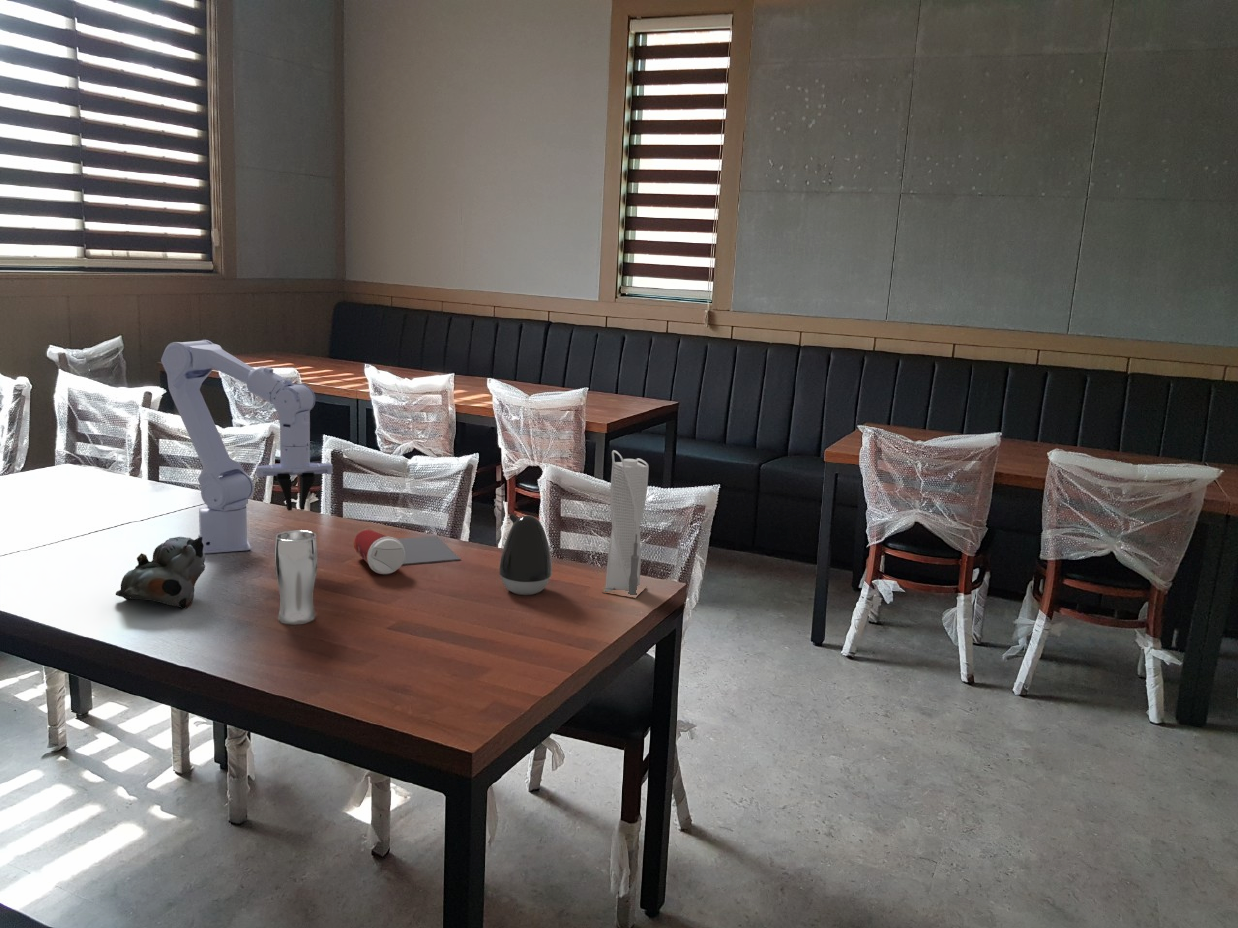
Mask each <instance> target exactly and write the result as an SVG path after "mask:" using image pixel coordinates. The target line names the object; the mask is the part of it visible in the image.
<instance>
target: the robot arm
mask: <svg viewBox="0 0 1238 928" xmlns="http://www.w3.org/2000/svg"><path fill="white" fill-rule="evenodd" d="M160 362H161V364H162V367H163V369H164V371H165V373H166V376H167V386H168V390H169V393H170V396H171V398H172V400H173V403H174V405H175V407H176V409H177V412H178V413H179V416H180V419H181V420H182V423H183V425H184V427H185V429H186V432H187V434H188V436H189V439H190V440H191V443H192V445H193V447H194V450H195V452H196V454H197V457H198V459H199V461H200V463H201V465H202V467H203V468H202V469H201V471H200V473H199V475H198V477H197V480H198V483H199V486H200V497H201V499H202V501H203V503H204V504H205V505H206V506H207V507H200V508H199V509H198V520H199V521H198V522H199V524H198V527H199V534H198V537H197V538H199V537H202V543H203V545H204V547H203V552H204V554H215V553H228V552H229V553H230V552H243V551H251V550H252V547H251V545H250V542H249V539H248V521H247V520H248V515H247V514H248V513H247V512H248V511H247V509H248V508H247V505H248V504H249V499H250V498H251V497H252V496H253V494H254V491H255V486H254V480H253V479H252V478H251V476H250V475H249V474H248V473H247V472H246V471H245V470H244V467H243V466H242V464H241V463H239V462H238V461H235V460H234V459H232V458H231V457H230V454H229V453H228V451H227V449H226V446H225V445H224V441H223V439H222V437H221V435H220V432H219V430H218V428H217V425H216V424H215V422H214V419H213V417H212V414H211V412H210V410H209V408H208V405H207V404H206V402H205V399H204V396H203V394H202V392H201V387H202V384H203V383H204V381H205V380H206V379H207V378H208V376H209V375H210V374H211V372H213V370H216V371H218V372H221V373H223V374H225V375H227V376H229V377H231V378H233V379H236V380H237V381H240V382H242V383H244V384H246V388H247V391H248V392H249V393H251V394H253V395H254V396H256V397H258V398H260V399H262V400H264V401H266V402H267V403H270V404H271V405H273V408H274V409H275V411H276V412H277V415H278V421H279V440H280V442H279V445H280V449H279V450H280V451H279V452H280V453H279V454H280V456H279V458H280V461H279V462H280V463H275V464H267V465H266V464H265V465H256V476H257V478H264V477H274V476H275V478H276V480H277V482H278V483H279V485H280V488H281V491H282V492H283V496H284V499H285V504H286V509H287V511H288V512H289V511H292V510H293V501H292V485H293V484H292V482H293V481H292V479H291V476H298V479H299V480H298V481H299V482H298V483H299V500H298V501H299V502H298V503H299V504H298V507H299V510H301V511H304V510H305V508H306V503H307V499H308V496H309V493H310V490H311V488H312V486H313V485H314V483H315V480H316V477H315V475H323V474H324V475H325V474H326V475H333V474H334V473H333V470H334V469H333V464H332V463H331V462H329V463H326V462H325V463H323V462H311V441H310V440H311V430H310V429H311V419H310V418H311V417H310V416H311V413H310V412H311V410H313V408H314V406H315V405H316V395H315V392H314V389H312V388H311V387H310V386H308V385H307V384H306V383H296V384H295V383H294V382H293V379H291V378H289V377H288V378H285V377H284V376H283V377H282V376H280V375H279V374H277V373H275V372H274V369H273V368H272V367H269V366H267V367H257V368H253V367H252V366H251V365H249V364H247V363H245V362H244V361H242V360H240V359H239V358H237V357H235V356H234V355H233V354H231V353H229V352H227V351H226V350H224V349H223V347H222V346H221V345H219V344H216V343H213V342H212V341H210V340H208V339H201V340H195V341H183V342H181V341H173V342H170V343H169V344H168V345H167V346H166V347H165V349H164V352H163V354H162V356H161V359H160Z"/></svg>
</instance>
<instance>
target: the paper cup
mask: <svg viewBox="0 0 1238 928" xmlns="http://www.w3.org/2000/svg"><path fill="white" fill-rule="evenodd" d="M398 539H399V538H396V537H392V536H387V535H385V534H382V533H380V532H377V531H375V530H371V529H366V530H365V529H364V530H362V531H360V532H358V533H357V534H356V535H355V537H354V540H353V548H354V550H355V552H356V553H357V555H359V556H360V557H361V559H363V560H364V561H365V563H367V564H368V566H369V568H370V569H371V570H372V571H373V572H375V573H376V574H379V575H390V574H392V573H395V572H396V571H397V570H398V569H400V568H401V567H402V566H403V565H402V564H403V562H404V560H405V550H404V547H403V545H402V543H401V542H400V541H399V540H398Z"/></svg>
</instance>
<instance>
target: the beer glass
mask: <svg viewBox="0 0 1238 928" xmlns="http://www.w3.org/2000/svg"><path fill="white" fill-rule="evenodd" d="M274 569H275V575H276V581H277V586H278V591H279V595H280V597H279V598H280V600H279V602H280V603H279V605H280V606H279V611H278V617H277V618H278V619H277V620H278V621H279V623H281V624H284V625H290V626H291V625H292V626H297V625H304V624H308V623H311V622H313V621H314V620H315V619H316V613H315V607H314V598H313V597H314V588H315V583H316V577H317V571H318V543H317V534H316V533H315V532H312V531H310V530H302V529H301V530H300V529H297V530H296V529H295V530H285V531H281V532H279V533H277V534H276V535H275V544H274Z"/></svg>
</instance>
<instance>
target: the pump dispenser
mask: <svg viewBox="0 0 1238 928" xmlns="http://www.w3.org/2000/svg"><path fill="white" fill-rule="evenodd" d="M508 516H509V520H510V521H511V522H512V523H513V524H512V525H511V527H510V530H509V531H508V533H507V536H506V539H505V542H504V545H503V548H502V551H501V557H500V563H499V571H498V573H499V575H500V576H501V577H500V578H501V581H502V584H503V585H504V587H505V588H506V589H507V590H508V591H509V592H512V593H513V594H516V595H520V596H530V595H531V596H532V595H535V594H538V593H540V592H541V591H543V590H544V589H545V588H546V586H547V585H548V583H549V581H550V578H551V576H552V573H553V565H552V554H551V550H550V545H549V541H548V537H547V534H546V531H545V529H544V526H543V525H542V522H541V521H540V520H539V519H538V518H536V517H535V516H533V515H523V516H520V517H517V516H516V515H515V514H514V513H511V514H510V515H508Z"/></svg>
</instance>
